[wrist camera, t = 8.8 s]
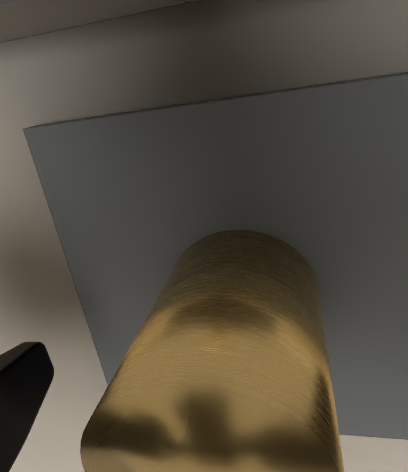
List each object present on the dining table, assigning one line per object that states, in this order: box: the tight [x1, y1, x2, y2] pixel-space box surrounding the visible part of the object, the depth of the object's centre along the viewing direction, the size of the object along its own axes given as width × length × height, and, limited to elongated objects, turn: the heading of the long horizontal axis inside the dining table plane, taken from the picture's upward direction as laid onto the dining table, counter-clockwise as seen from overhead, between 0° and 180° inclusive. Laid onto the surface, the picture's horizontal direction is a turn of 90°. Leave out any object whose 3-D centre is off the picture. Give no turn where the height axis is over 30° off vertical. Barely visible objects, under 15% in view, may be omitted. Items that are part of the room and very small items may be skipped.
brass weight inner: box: [80, 230, 344, 472], centre depth 8 cm, size 4×4×5 cm
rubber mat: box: [23, 72, 408, 440], centre depth 10 cm, size 10×10×1 cm
